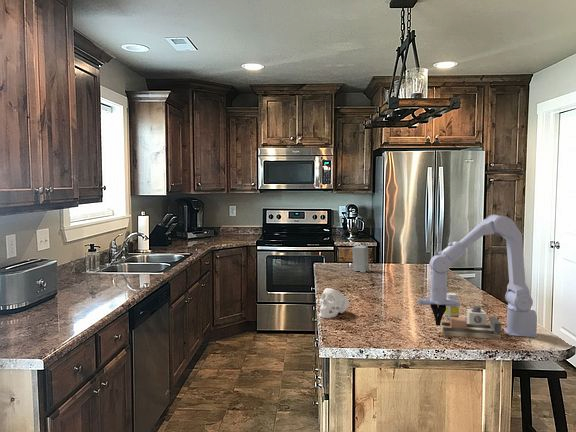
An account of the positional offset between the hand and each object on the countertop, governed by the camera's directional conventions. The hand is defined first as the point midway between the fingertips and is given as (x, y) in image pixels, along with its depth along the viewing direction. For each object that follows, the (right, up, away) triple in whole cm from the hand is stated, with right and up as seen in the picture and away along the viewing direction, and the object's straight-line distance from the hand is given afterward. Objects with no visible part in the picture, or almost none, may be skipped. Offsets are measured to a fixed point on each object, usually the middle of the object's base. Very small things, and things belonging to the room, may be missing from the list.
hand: (437, 324), depth 173 cm
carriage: (+7, -1, -2) cm, 7 cm away
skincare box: (-10, +5, +121) cm, 121 cm away
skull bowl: (-36, -1, +23) cm, 43 cm away
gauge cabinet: (+17, -2, +8) cm, 19 cm away
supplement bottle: (+11, -2, +18) cm, 21 cm away
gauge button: (+17, 0, +7) cm, 19 cm away
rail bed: (+11, -3, -2) cm, 11 cm away
